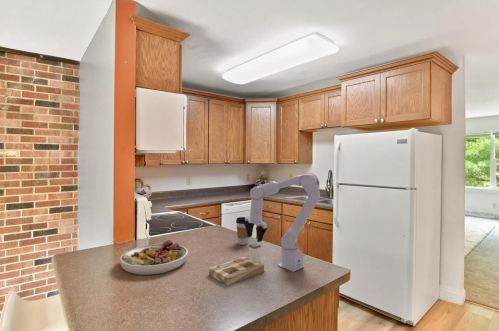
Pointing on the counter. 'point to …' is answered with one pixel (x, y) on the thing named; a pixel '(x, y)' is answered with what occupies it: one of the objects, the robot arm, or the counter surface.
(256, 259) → the plug
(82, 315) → the counter surface
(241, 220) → the coffee cup
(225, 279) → the socket block
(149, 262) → the bowl
